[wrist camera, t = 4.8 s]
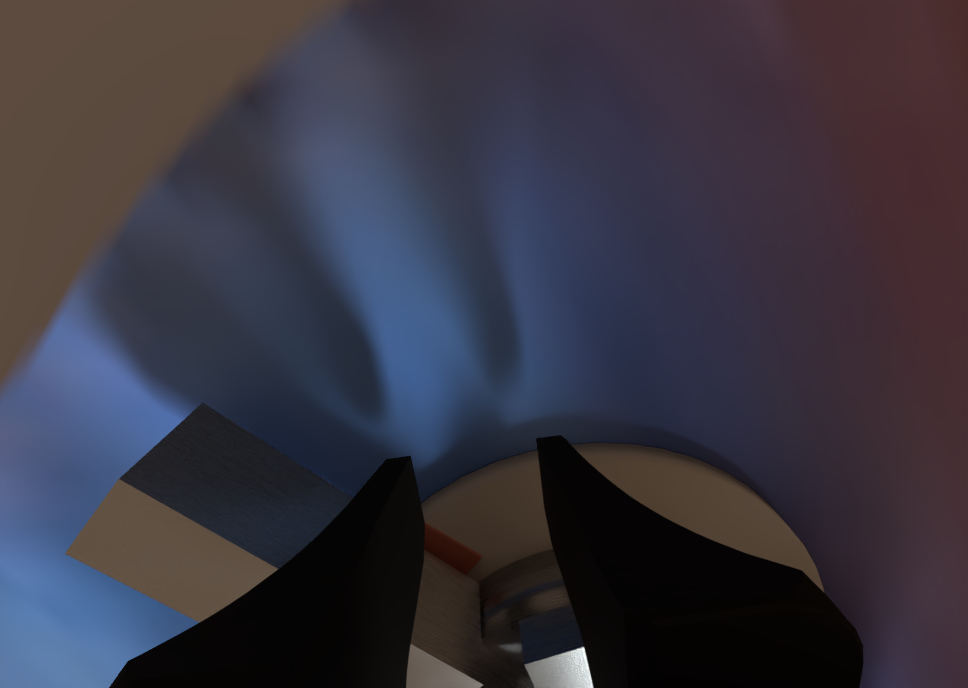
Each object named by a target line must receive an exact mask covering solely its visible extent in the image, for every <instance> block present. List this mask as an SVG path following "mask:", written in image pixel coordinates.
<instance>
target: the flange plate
mask: <svg viewBox="0 0 968 688" xmlns="http://www.w3.org/2000/svg"><path fill="white" fill-rule="evenodd" d="M572 446H573V447H574V448H575V449H576V450H577V452H578V453H580V454H581V455H582V456H583V457H584V458H585V459H586V460H587V461H588V462H589V463H590V464H591V465H592V466H593V467H594V468H596V469H597V470H598V471H599V472H600V473H601V474H603V475H604V476H605V477H606V478H607V479H608V480H610V481H611V482H612V483H613V484H615V485H616V486H617V487H619V488H620V489H621V490H623V491H624V492H625V493H627V494H628V495H629V496H631V497H632V498H634V499H635V500H637V501H638V502H640V503H641V504H643V505H645V506H646V507H648V508H650V509H651V510H653V511H655V512H656V513H658V514H660V515H661V516H663V517H665V518H667V519H669V520H671V521H672V522H674V523H677V524H679V525H681V526H683V527H685V528H687V529H689V530H691V531H693V532H695V533H697V534H699V535H702V536H704V537H706V538H709V539H711V540H713V541H716V542H718V543H721V544H723V545H726V546H729V547H731V548H734V549H736V550H739V551H742V552H744V553H747V554H750V555H753V556H756V557H760V558H763V559H766V560H770V561H773V562H776V563H780V564H783V565H786V566H789V567H793V568H796V569H799V570H802V571H803V572H804V573H805V574H806V575H807V576H808V577H809V578H810V579H811V580H812V581H813V582H814V583H815V584H816V585H817V586H818V587H819V588H820V589H821V590H822V591H823V592H824V588H823V586H822V583H821V580H820V577H819V574H818V571H817V568H816V566H815V564H814V562H813V560H812V559H811V557H810V555H809V553H808V551H807V550H806V548H805V546H804V544H803V543H802V542H801V541H800V540H799V538H798V537H797V536H796V535H795V534H794V532H793V531H792V530H791V529H790V528H789V526H788V525H787V524H786V523H785V522H784V521H783V520H782V518H781V517H780V516H779V515H778V514H777V513H776V512H775V511H774V510H773V509H772V508H771V506H770V505H769V504H768V503H767V502H766V501H764V500H763V499H762V498H761V497H760V496H759V495H758V494H756V493H755V492H754V491H753V490H752V489H751V488H749V487H748V486H747V485H746V484H744V483H742V482H741V481H739V480H738V479H736V478H734V477H733V476H731V475H730V474H728V473H726V472H725V471H723V470H721V469H719V468H717V467H714V466H712V465H710V464H707V463H705V462H703V461H701V460H698V459H696V458H694V457H690V456H687V455H683V454H679V453H676V452H672V451H669V450H665V449H661V448H654V447H648V446H641V445H635V444H621V443H586V444H574V445H572ZM421 507H422V512H423V516H424V521H425V545H424V549H425V550H426V551H428V552H429V553H431V554H433V555H434V556H436V557H437V558H439V559H441V560H442V561H444V562H445V563H447V564H449V565H450V566H452V567H453V568H455V569H457V570H458V571H460V572H461V573H463V574H464V575H466V576H468V577H469V578H471V579H472V580H474V581H476V582H477V583H478V582H479V581H481V580H482V579H484V578H485V577H487V576H488V575H490V574H491V573H493V572H495V571H497V570H499V569H501V568H503V567H505V566H507V565H509V564H511V563H513V562H515V561H517V560H520V559H523V558H525V557H528V556H531V555H533V554H536V553H539V552H543V551H547V550H551V549H553V547H552V544H551V539H550V534H549V529H548V525H547V520H546V515H545V510H544V503H543V494H542V485H541V476H540V468H539V459H538V450H536V451H531V452H526V453H523V454H520V455H517V456H513V457H510V458H507V459H504V460H501V461H498V462H495V463H492V464H490V465H487V466H485V467H483V468H481V469H479V470H476V471H474V472H472V473H470V474H468V475H465V476H463V477H461V478H459V479H458V480H456V481H454V482H453V483H451V484H449V485H448V486H446V487H445V488H443V489H441V490H440V491H438V492H436V493H435V494H433V495H432V496H430V497H429V498H428V499H427V500H425V501H424V502H423V503H422V504H421Z"/></svg>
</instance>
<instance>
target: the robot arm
mask: <svg viewBox="0 0 968 688" xmlns="http://www.w3.org/2000/svg"><path fill="white" fill-rule="evenodd" d="M536 441H537V450H538V459H539V468H540V476H541V485H542V494H543V503H544V510H545V515H546V520H547V525H548V529H549V534H550V539H551V544H552V547H553V550H554V553H555V556H556V560H557V563H558V566H559V569H560V572H561V575H562V578H563V581H564V584H565V587H566V590H567V593H568V596H569V599H570V602H571V605H572V609H573V612H574V615H575V618H576V621H577V624H578V627H579V630H580V634H581V638H582V641H583V645H584V649H585V653H586V657H587V662H588V666H589V671H590V675H591V679H592V684H593V688H859V687H860V680H861V674H862V668H863V645H862V642H861V640H860V638H859V636H858V633H857V631H856V629H855V628H854V627H853V626H852V624H851V623H850V622H849V621H848V620H847V619H846V617H845V616H844V615H843V614H842V613H841V612H840V610H839V609H838V608H837V607H836V605H835V604H834V603H833V602H832V601H831V600H830V599H829V598H828V596H827V595H826V594H825V593H824V592H823V591H822V590H821V589H820V588H819V587H818V586H817V585H816V584H815V583H814V582H813V581H812V580H811V579H810V578H809V577H808V576H807V575H806V574H805V573H804V572H803V571H802V570H799V569H796V568H793V567H789V566H786V565H783V564H780V563H776V562H773V561H770V560H766V559H763V558H760V557H756V556H753V555H750V554H747V553H744V552H742V551H739V550H736V549H734V548H731V547H729V546H726V545H723V544H721V543H718V542H716V541H713V540H711V539H709V538H706V537H704V536H702V535H699V534H697V533H695V532H693V531H691V530H689V529H687V528H685V527H683V526H681V525H679V524H677V523H674V522H672V521H671V520H669V519H667V518H665V517H663V516H661V515H660V514H658V513H656V512H655V511H653V510H651V509H650V508H648V507H646V506H645V505H643V504H641V503H640V502H638V501H637V500H635V499H634V498H632V497H631V496H629V495H628V494H627V493H625V492H624V491H623V490H621V489H620V488H619V487H617V486H616V485H615V484H613V483H612V482H611V481H610V480H608V479H607V478H606V477H605V476H604V475H603V474H601V473H600V472H599V471H598V470H597V469H596V468H594V467H593V466H592V465H591V464H590V463H589V462H588V461H587V460H586V459H585V458H584V457H583V456H582V455H581V454H580V453H578V452H577V450H576V449H575V448H574V447H573V446H572V445H571V444H570V443H569V442H568V441H567V440H566V439H565V438H564V437H562V436H561V435H558V436H551V437H544V438H537V439H536ZM424 545H425V521H424V516H423V512H422V507H421V502H420V497H419V493H418V488H417V483H416V479H415V474H414V469H413V464H412V460H411V456H406V457H399V458H392V459H386V460H385V461H384V463H383V464H382V465H381V466H380V467H379V468H378V470H377V471H376V472H375V473H374V474H373V476H372V477H371V478H370V479H369V480H368V482H367V483H366V484H365V485H364V486H363V488H362V489H361V490H360V491H359V492H358V493H357V494H356V496H355V497H354V498H353V499H352V500H351V501H350V502H349V504H348V505H347V506H346V507H345V508H344V509H343V510H342V511H341V512H340V513H339V514H338V515H337V516H336V517H335V518H334V519H333V520H332V521H331V522H330V523H329V524H328V526H327V527H326V528H325V529H324V530H323V531H322V532H321V533H320V534H319V535H318V536H317V537H315V538H314V539H313V540H312V541H311V542H310V543H309V544H308V545H307V546H306V547H305V548H303V549H302V550H301V551H300V552H299V553H297V554H296V555H295V556H294V557H293V558H292V559H290V560H289V561H288V562H287V563H286V564H284V565H283V566H282V567H281V568H279V569H278V570H277V571H275V572H274V573H273V574H271V575H270V576H268V577H267V578H266V579H264V580H263V581H262V582H260V583H259V584H258V585H256V586H255V587H254V588H252V589H251V590H250V591H248V592H247V593H245V594H244V595H242V596H241V597H239V598H238V599H236V600H235V601H233V602H232V603H230V604H229V605H227V606H226V607H224V608H223V609H221V610H219V611H218V612H216V613H215V614H213V615H211V616H210V617H208V618H206V619H205V620H203V621H201V622H200V623H198V624H196V625H195V626H193V627H191V628H189V629H188V630H186V631H184V632H182V633H180V634H179V635H177V636H175V637H173V638H171V639H169V640H167V641H166V642H164V643H162V644H160V645H158V646H156V647H154V648H152V649H151V650H149V651H147V652H145V653H143V654H141V655H139V656H137V657H135V658H133V659H131V660H129V661H128V662H127V663H126V665H125V666H124V667H123V669H122V670H121V671H120V673H119V674H118V676H117V677H116V679H115V680H114V682H113V683H112V684H111V686H110V687H109V688H406V681H407V668H408V659H409V651H410V644H411V638H412V632H413V626H414V620H415V614H416V608H417V602H418V595H419V589H420V583H421V576H422V570H423V563H424Z"/></svg>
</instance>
